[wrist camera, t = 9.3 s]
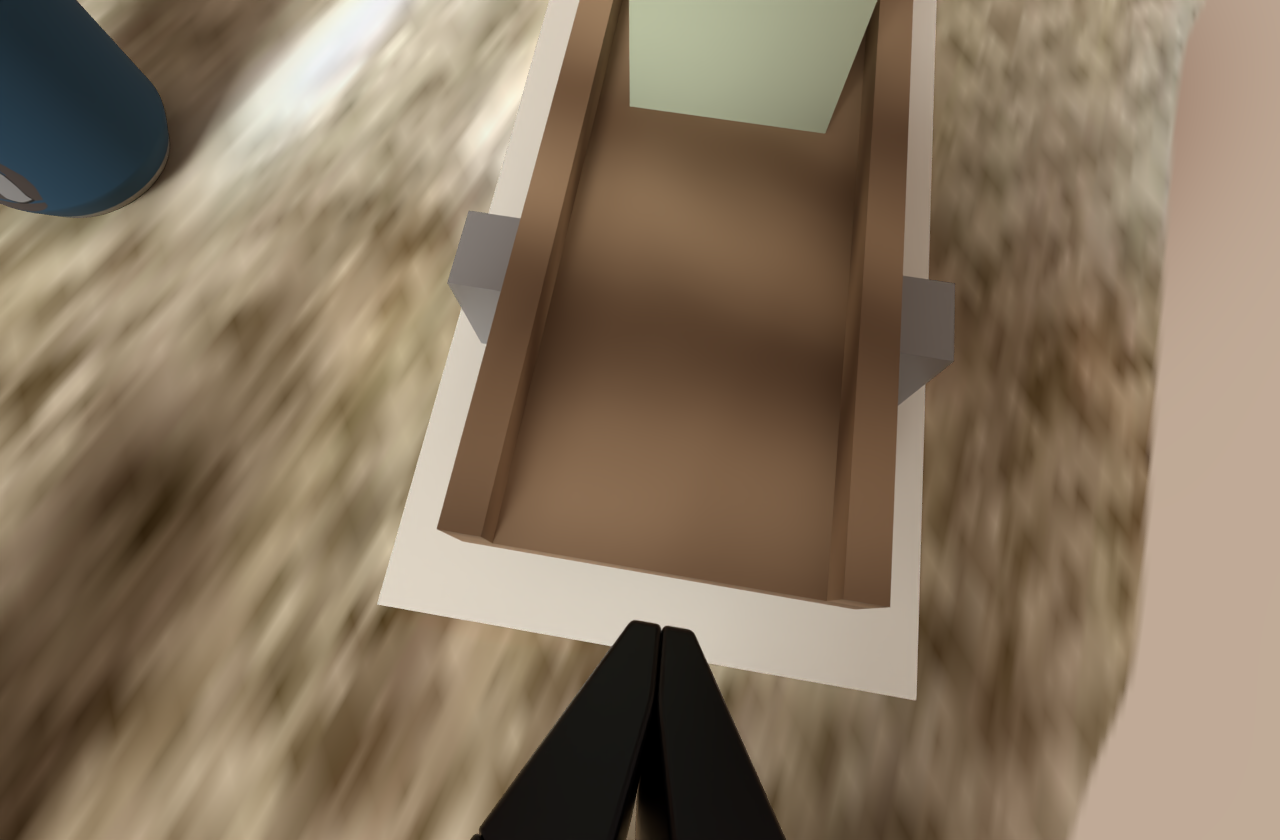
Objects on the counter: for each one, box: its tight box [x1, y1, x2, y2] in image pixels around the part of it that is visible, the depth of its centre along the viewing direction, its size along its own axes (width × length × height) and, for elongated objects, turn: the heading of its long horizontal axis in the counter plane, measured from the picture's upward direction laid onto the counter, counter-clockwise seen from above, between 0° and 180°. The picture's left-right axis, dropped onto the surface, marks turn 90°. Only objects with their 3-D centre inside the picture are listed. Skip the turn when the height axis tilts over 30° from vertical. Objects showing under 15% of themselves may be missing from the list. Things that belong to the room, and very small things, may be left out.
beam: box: [437, 0, 913, 609], centre depth 18 cm, size 24×10×5 cm, turn 170°
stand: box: [377, 0, 955, 700], centre depth 21 cm, size 28×16×5 cm, turn 170°
